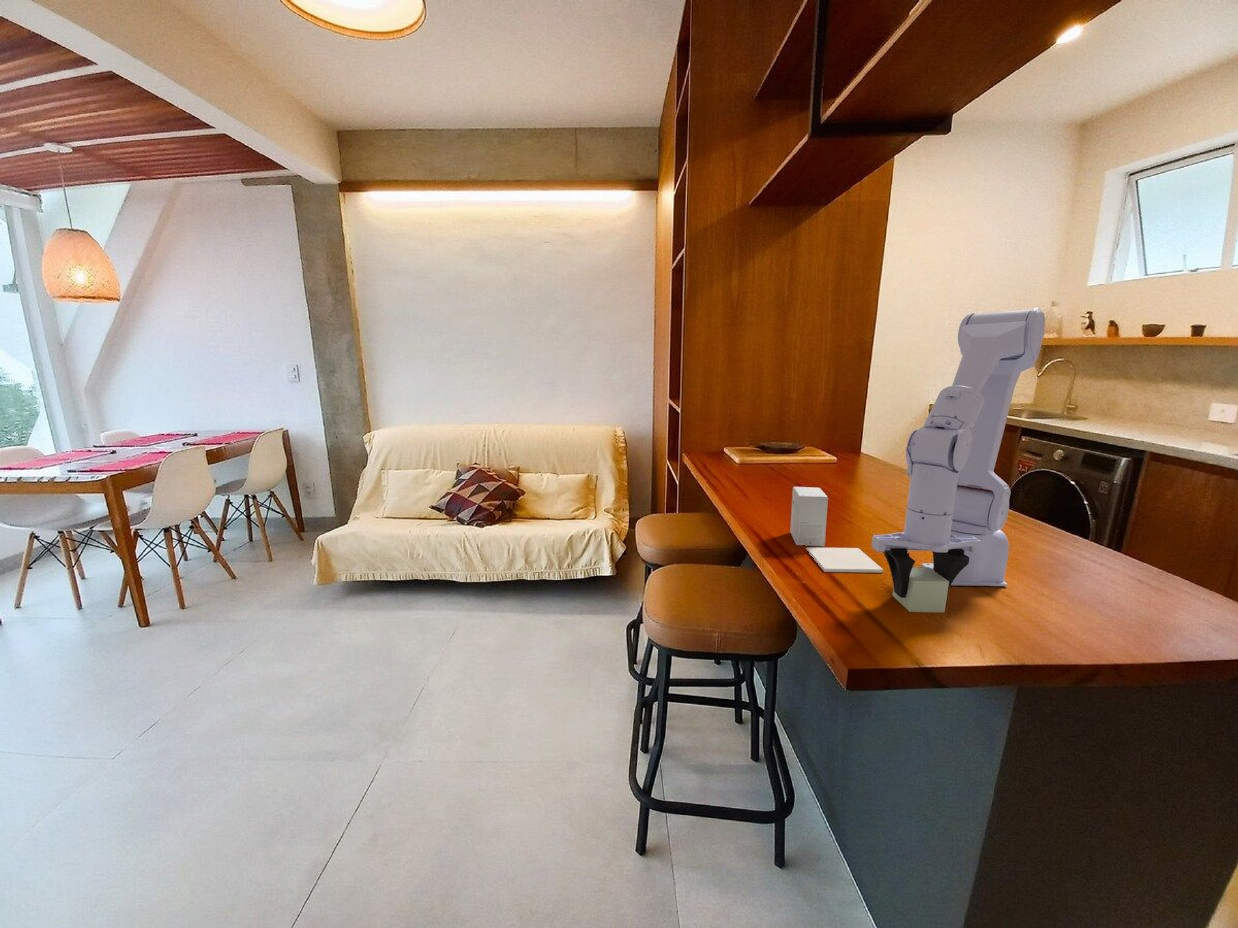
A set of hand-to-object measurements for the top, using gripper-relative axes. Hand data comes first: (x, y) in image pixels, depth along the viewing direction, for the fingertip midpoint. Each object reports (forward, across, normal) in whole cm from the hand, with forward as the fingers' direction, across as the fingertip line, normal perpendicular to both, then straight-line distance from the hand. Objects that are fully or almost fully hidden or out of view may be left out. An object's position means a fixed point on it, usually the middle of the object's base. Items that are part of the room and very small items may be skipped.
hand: (918, 594), depth 72 cm
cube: (+2, 0, 0) cm, 2 cm away
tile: (+1, -5, +16) cm, 17 cm away
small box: (+2, -8, +27) cm, 28 cm away
